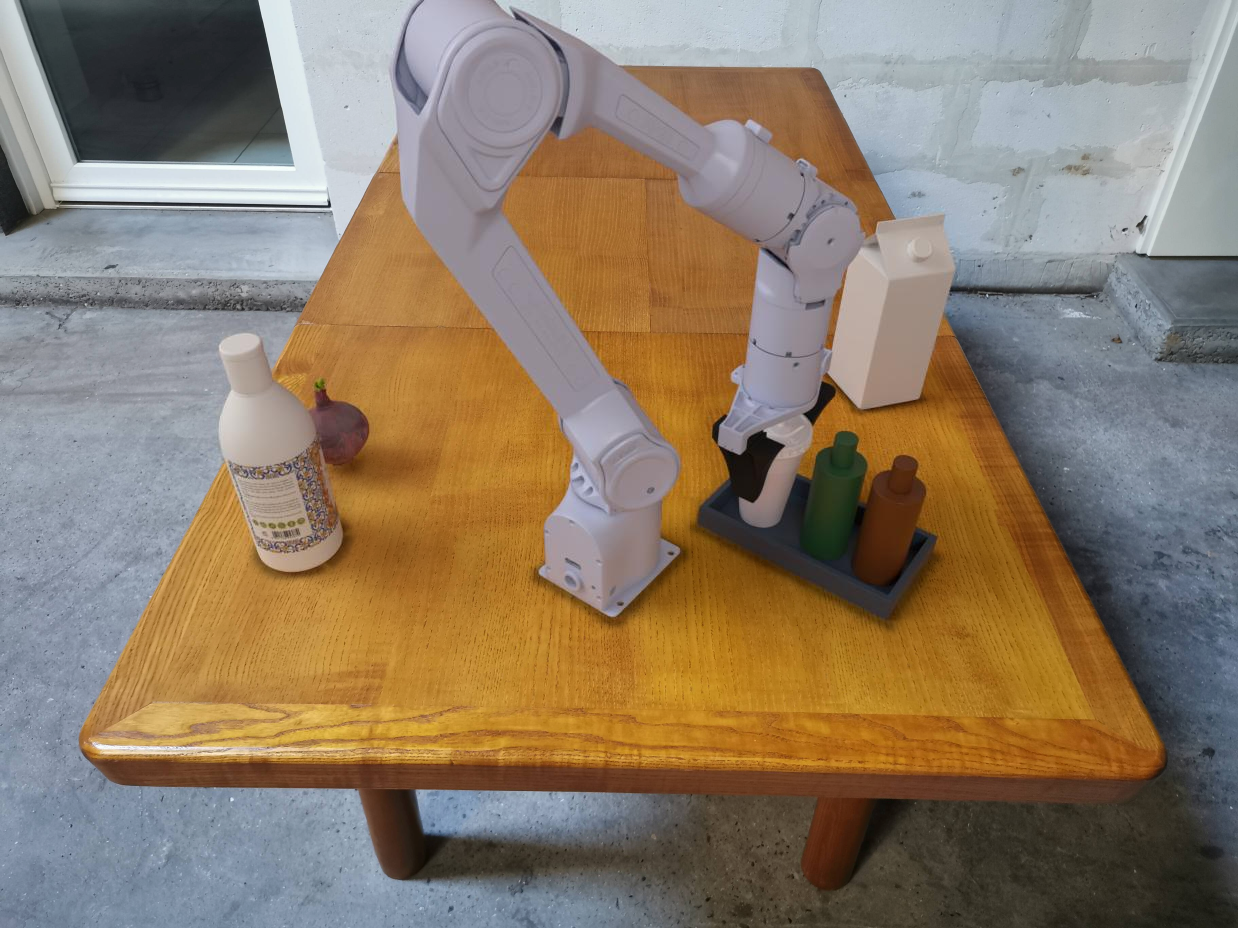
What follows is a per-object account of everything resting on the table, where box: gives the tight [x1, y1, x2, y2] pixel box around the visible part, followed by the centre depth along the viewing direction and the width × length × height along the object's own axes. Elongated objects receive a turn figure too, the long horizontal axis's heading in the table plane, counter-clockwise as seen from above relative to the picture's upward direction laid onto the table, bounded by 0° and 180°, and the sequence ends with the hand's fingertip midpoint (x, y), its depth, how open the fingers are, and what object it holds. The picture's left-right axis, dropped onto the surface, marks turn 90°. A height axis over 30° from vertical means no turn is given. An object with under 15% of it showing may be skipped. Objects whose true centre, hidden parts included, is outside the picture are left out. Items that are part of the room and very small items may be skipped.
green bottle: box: [800, 430, 869, 560], centre depth 71 cm, size 4×4×11 cm
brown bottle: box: [851, 454, 927, 586], centre depth 69 cm, size 4×4×11 cm
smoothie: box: [739, 414, 814, 528], centre depth 73 cm, size 6×6×14 cm
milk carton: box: [827, 212, 956, 410], centre depth 88 cm, size 7×7×19 cm
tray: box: [697, 472, 938, 621], centre depth 75 cm, size 9×18×2 cm, turn 53°
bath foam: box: [218, 332, 344, 573], centre depth 68 cm, size 7×7×20 cm
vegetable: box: [308, 377, 370, 468], centre depth 80 cm, size 6×6×10 cm
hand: (765, 475), depth 75 cm, fingers closed on smoothie, 6 cm apart
